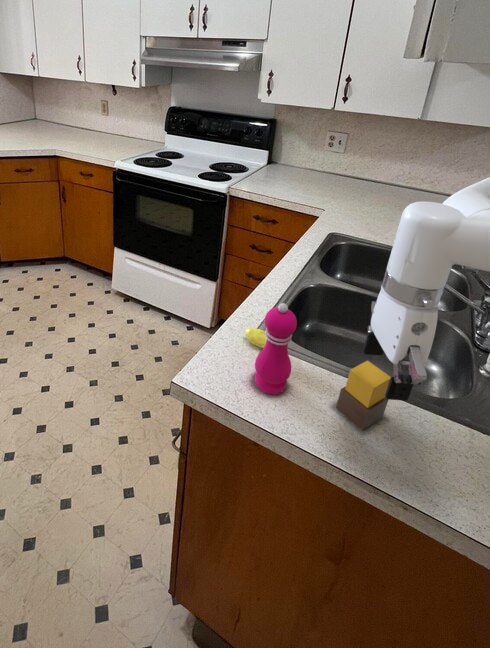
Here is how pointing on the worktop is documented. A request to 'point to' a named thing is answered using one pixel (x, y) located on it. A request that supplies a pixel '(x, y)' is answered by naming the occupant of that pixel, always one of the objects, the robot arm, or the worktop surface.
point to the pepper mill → (275, 351)
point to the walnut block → (360, 409)
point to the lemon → (256, 336)
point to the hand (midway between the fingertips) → (383, 374)
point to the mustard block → (367, 383)
